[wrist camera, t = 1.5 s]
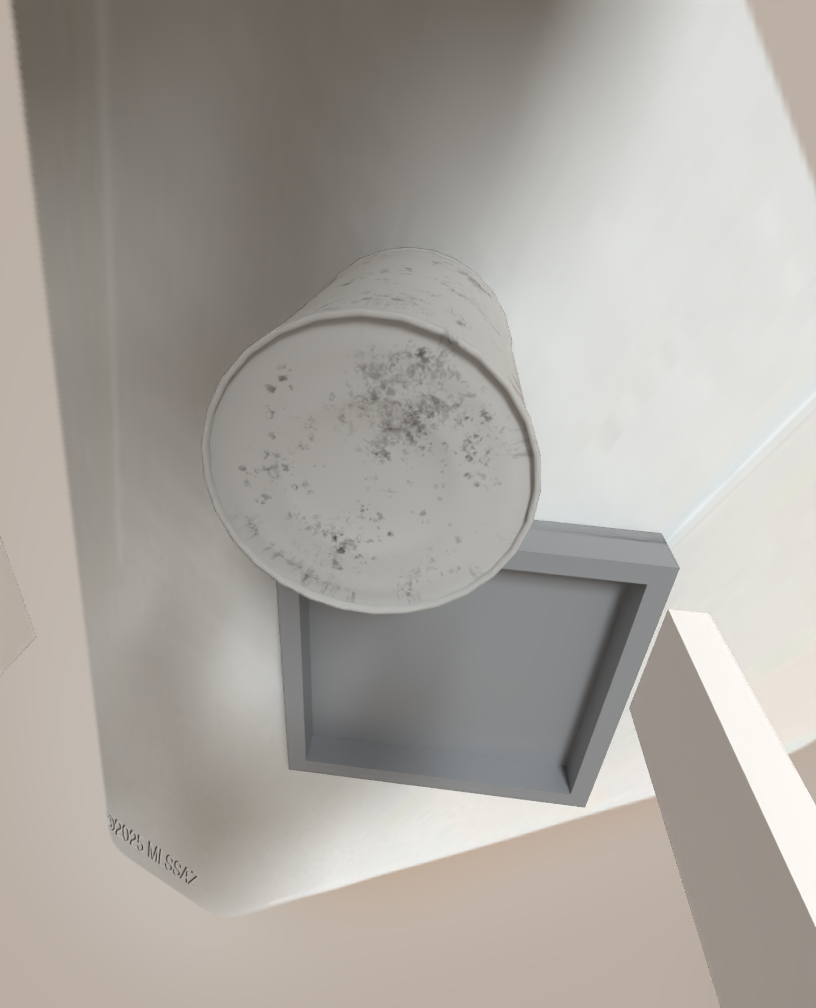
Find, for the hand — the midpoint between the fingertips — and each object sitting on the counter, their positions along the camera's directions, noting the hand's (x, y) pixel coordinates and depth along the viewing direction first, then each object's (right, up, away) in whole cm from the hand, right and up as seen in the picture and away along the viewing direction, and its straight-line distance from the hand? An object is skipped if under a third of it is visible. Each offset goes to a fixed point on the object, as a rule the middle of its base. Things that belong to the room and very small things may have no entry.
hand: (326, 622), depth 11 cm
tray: (+4, -7, +24) cm, 25 cm away
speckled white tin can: (+2, +9, +15) cm, 18 cm away
